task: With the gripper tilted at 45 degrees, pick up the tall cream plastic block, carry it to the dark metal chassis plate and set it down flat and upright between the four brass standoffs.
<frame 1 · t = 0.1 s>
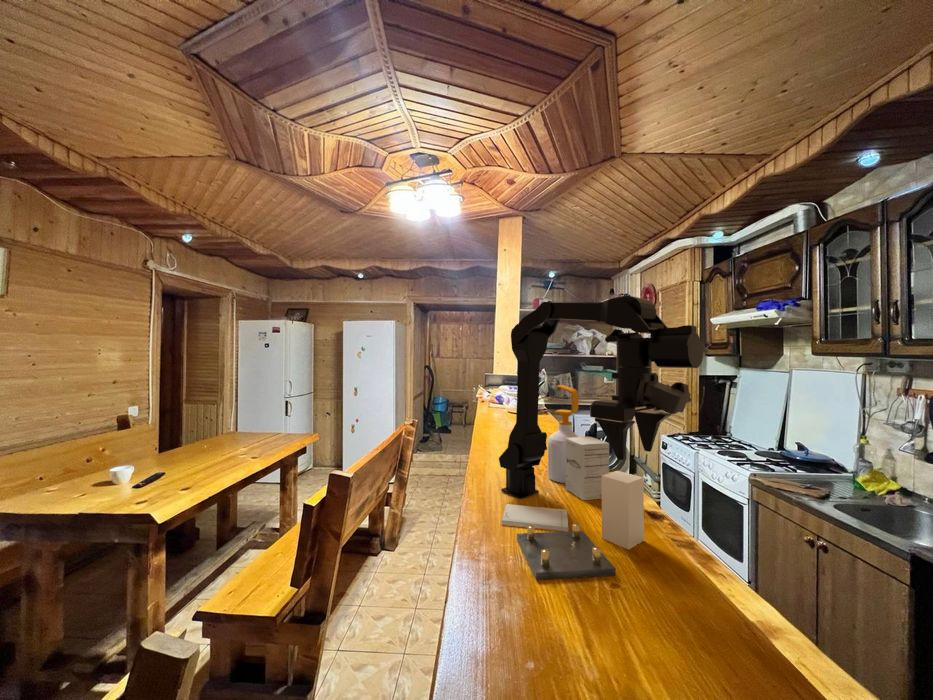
hand: (634, 455, 67), 15 cm above the counter, tool pointing down, fingers open, 9 cm apart
cream block: (622, 539, 66), on the counter
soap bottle: (565, 479, 99), on the counter
chassis plate: (561, 555, 61), on the counter
hard drive: (535, 522, 74), on the counter
supplement box: (586, 494, 88), on the counter
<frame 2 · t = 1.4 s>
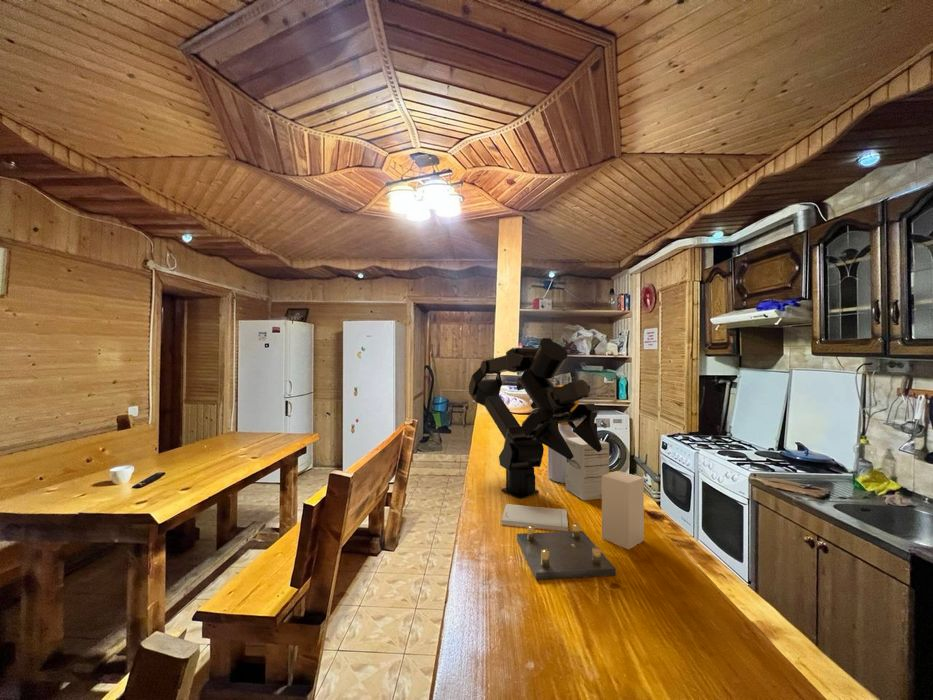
hand: (586, 454, 72), 13 cm above the counter, tool tilted 45°, fingers open, 9 cm apart
nothing on the counter moved.
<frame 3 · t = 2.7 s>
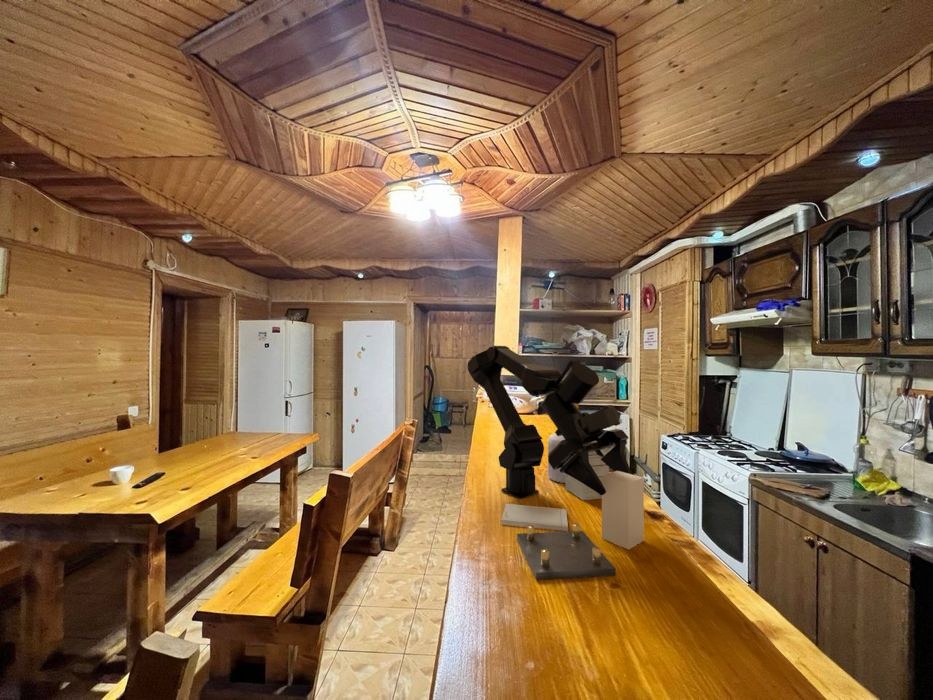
hand: (619, 488, 67), 9 cm above the counter, tool tilted 45°, fingers open, 9 cm apart
nothing on the counter moved.
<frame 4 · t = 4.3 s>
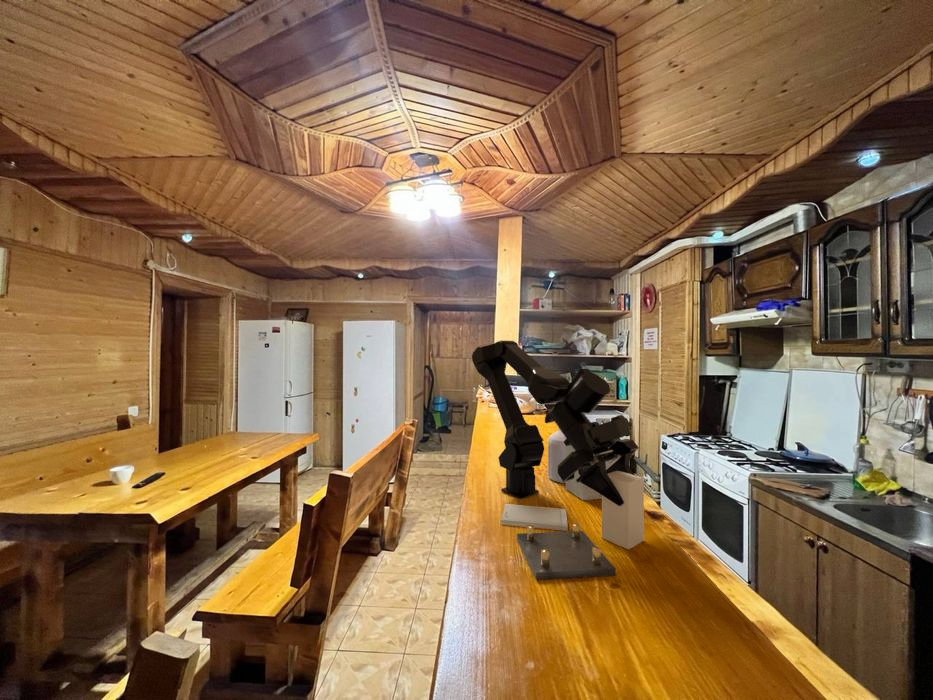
hand: (630, 501, 65), 7 cm above the counter, tool tilted 45°, fingers closed on cream block, 5 cm apart
cream block: (622, 539, 66), on the counter, touching gripper
everything else where it was.
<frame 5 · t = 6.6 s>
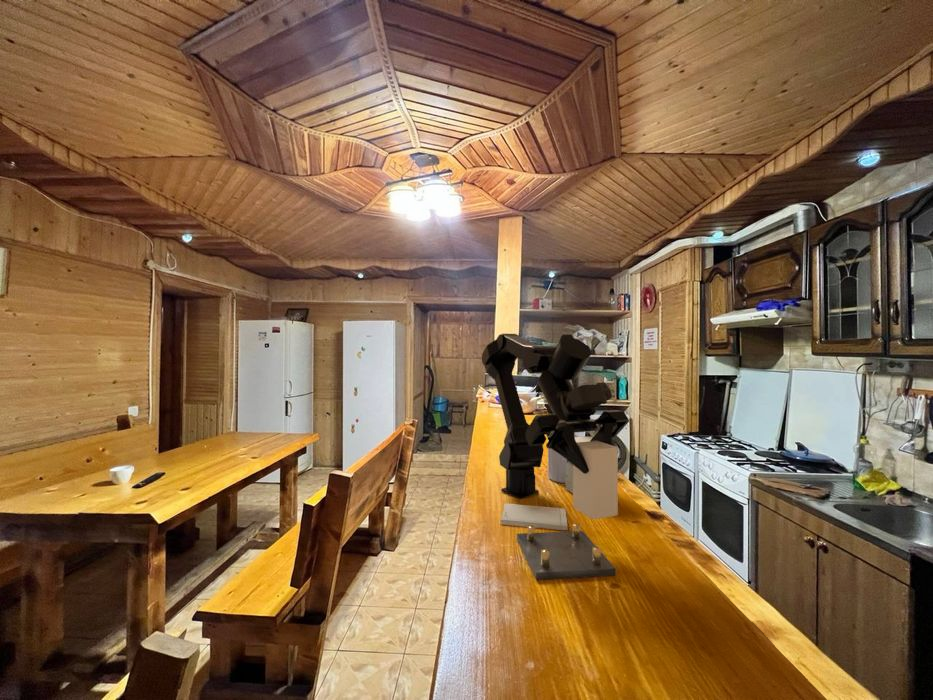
hand: (600, 470, 61), 13 cm above the counter, tool tilted 45°, fingers closed on cream block, 5 cm apart
cream block: (594, 511, 63), point 6 cm above the counter, touching gripper
everything else where it was.
when the fingers open (9 cm above the counter, at t = 8.8 s): cream block stays where it is, resting on chassis plate.
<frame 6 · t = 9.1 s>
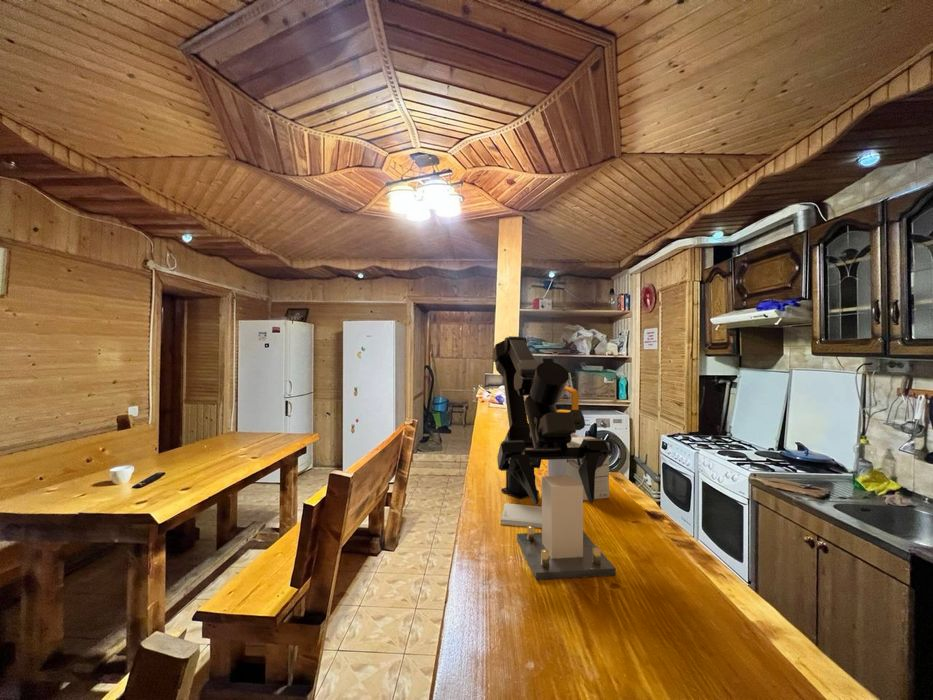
hand: (564, 502, 59), 9 cm above the counter, tool tilted 45°, fingers open, 9 cm apart
cream block: (561, 549, 61), point 1 cm above the counter, touching chassis plate
everything else where it was.
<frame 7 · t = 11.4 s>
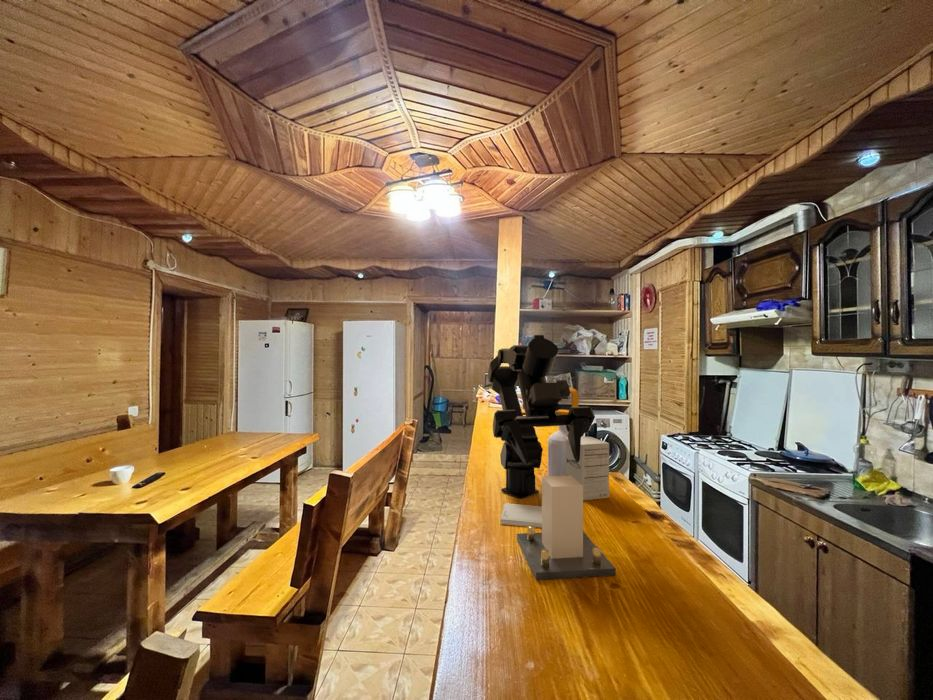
hand: (552, 462, 66), 13 cm above the counter, tool tilted 45°, fingers open, 9 cm apart
nothing on the counter moved.
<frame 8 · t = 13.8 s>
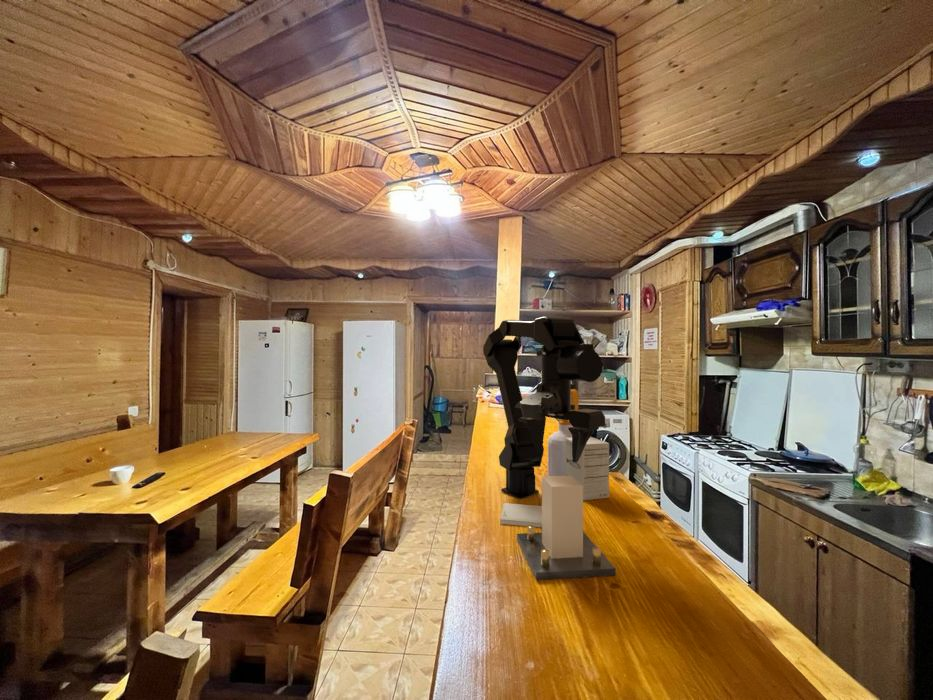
hand: (556, 456, 75), 12 cm above the counter, tool pointing down, fingers open, 9 cm apart
nothing on the counter moved.
at the end: cream block 0.0 cm from the chassis plate (horizontally); cream block tilted 0°; cream block point 1.0 cm above the counter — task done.
